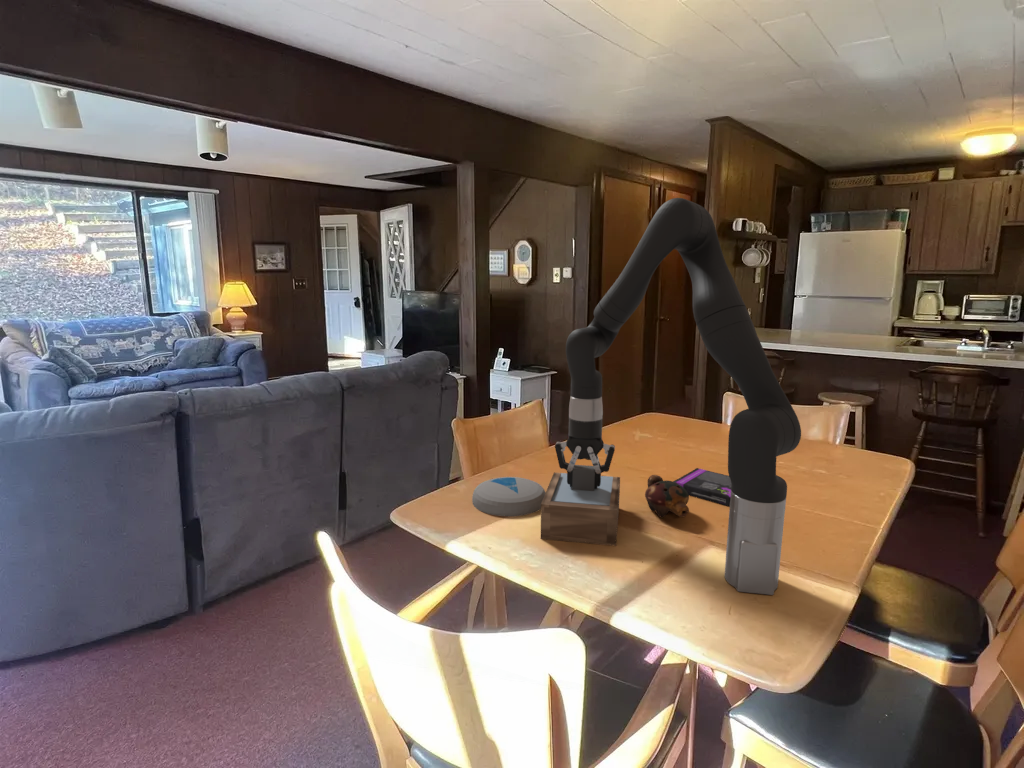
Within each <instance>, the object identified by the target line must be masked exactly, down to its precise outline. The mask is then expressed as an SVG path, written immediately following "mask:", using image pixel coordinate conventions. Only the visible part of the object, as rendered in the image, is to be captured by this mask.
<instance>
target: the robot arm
mask: <svg viewBox="0 0 1024 768" xmlns="http://www.w3.org/2000/svg"><path fill="white" fill-rule="evenodd" d="M641 236H642V237H641V238H640V240H639V242H638V244H637V246H636V247H635V249H634V250H633V253H632V254H631V256H630V257H629V260H628V261H627V263H626V265H625V266H624V268H623V269H622V271H621V273H620V274H619V275H618V278H616V279H615V282H613V284H612V285H611V286H610V288H609V289H608V290H607V292H605V293H604V295H603V297H602V298H601V299H600V300H599V302H598V304H597V305H596V306H595V308H594V309H593V316H594V317H593V319H592V321H591V322H590V323H589V324H588V326H587V327H582V328H576V329H574V330H572V332H571V333H569V335H568V336H567V339H566V343H565V355H566V362H567V367H568V371H569V375H570V399H569V403H568V404H569V406H568V437H567V439H566V441H559V440H558V441H556V443H555V445H554V449H555V452H556V453H555V454H556V458H557V461H558V467H559V468H560V469H563V470H565V471H566V473H567V483H568V484H570V487H572V479H573V467H574V465H576V462H577V460H587V461H591V464H592V466H594V469H595V482H594V489H597V487H599V486H600V484H601V476H602V473H607V472H609V471H610V467H611V464H612V461H613V458H614V453H615V449H616V446H615V445H614V444H607V443H605V442H604V441H603V416H604V410H603V409H604V408H603V407H604V406H603V375H602V374H601V372H600V371H599V370H597V368H596V362H595V359H597V358H598V357H601V356H602V355H604V354H605V353H606V352H607V351H608V350H609V349H610V347H611V346H612V345H613V342H615V341H614V340H615V339H616V338H617V336H618V335H619V332H620V330H621V328H622V327H623V326H624V324H626V322H627V321H628V320H629V319H630V318H631V317H632V315H633V314H634V313H635V311H636V310H637V308H638V307H639V306H640V304H641V303H642V301H643V299H644V298H645V295H646V293H647V291H648V287H649V286H650V285H649V284H650V282H651V279H652V277H653V275H654V273H655V271H656V270H657V268H658V266H659V265H660V264H661V263H662V262H663V260H665V259H666V257H667V256H668V255H669V254H670V253H671V252H672V251H674V250H676V251H677V252H678V253H679V255H680V256H681V259H682V260H683V263H684V264H685V267H686V269H687V272H688V273H689V277H690V280H691V286H692V313H693V318H694V321H695V325H696V326H697V330H698V332H699V335H700V338H701V341H702V342H703V344H704V346H705V349H706V350H707V352H708V354H710V356H711V357H712V358H713V359H714V361H715V362H716V363H718V365H719V367H721V368H722V369H723V370H724V371H725V372H726V373H727V374H728V375H729V376H730V377H731V379H733V381H735V383H736V385H737V386H738V388H739V390H740V392H741V394H742V396H743V398H744V400H745V403H746V405H747V409H743V410H741V411H739V412H738V413H736V415H734V417H733V419H732V420H731V423H730V426H729V431H728V443H727V444H728V447H727V449H728V450H727V472H728V476H729V477H730V480H731V497H730V507H729V508H728V509H729V511H728V524H727V525H728V526H727V536H726V537H727V538H726V550H725V552H726V553H725V565H724V578H725V580H726V582H727V583H728V584H729V585H731V586H733V588H735V589H736V591H737V592H741V593H748V594H749V593H750V594H761V595H770V596H773V595H775V591H776V590H777V588H778V585H779V576H780V566H781V565H780V564H781V556H782V545H783V536H784V534H783V533H784V524H785V514H786V503H787V495H788V484H787V482H786V480H785V479H784V478H783V477H781V476H779V475H777V457H778V456H779V457H780V456H783V455H786V454H789V453H791V452H793V451H794V450H795V449H796V448H797V447H798V446H799V444H800V441H801V438H802V437H801V436H802V428H801V423H800V421H799V418H798V416H797V414H796V412H795V409H794V408H793V406H792V403H791V402H790V401H789V399H788V397H787V395H786V393H785V392H784V389H783V388H782V386H781V384H780V382H779V380H778V378H777V376H776V375H775V373H774V370H773V368H772V366H771V364H770V362H769V359H768V356H767V354H766V352H765V350H764V348H763V345H762V343H761V340H760V339H759V336H758V334H757V331H756V328H755V326H754V322H753V320H752V318H751V316H750V313H749V311H748V308H747V306H746V303H745V302H744V300H743V298H742V295H741V293H740V290H739V288H738V286H737V283H736V281H735V280H734V277H733V274H732V273H731V271H730V269H729V267H728V265H727V262H726V259H725V257H724V254H723V253H724V252H723V250H722V246H721V243H720V240H719V237H718V232H717V229H716V225H715V222H714V220H713V217H712V215H711V214H710V212H709V211H708V210H707V209H706V208H705V207H704V206H702V205H700V204H698V203H695V202H693V201H691V200H688V199H686V198H683V197H674V198H671V199H668V200H667V201H665V202H663V204H661V205H660V206H659V208H658V209H657V210H656V211H655V214H654V215H653V217H652V218H651V220H650V221H649V223H648V225H647V227H646V230H645V231H644V233H643V235H641ZM566 447H567V448H568V450H569V451H570V453H571V454H572V455H571V458H570V461H569V462H566V458H565V454H564V453H565V452H564V451H566ZM601 450H604V454H605V455H606V457H605V462H604V464H601V462H600V460H599V459H600V458H599V456H598V455H599V453H600V452H601Z"/></svg>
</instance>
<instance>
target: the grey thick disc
mask: <svg viewBox="0 0 1024 768" xmlns="http://www.w3.org/2000/svg"><path fill="white" fill-rule="evenodd" d="M545 493H546V490H545V488H544V487H543V486H542V485H541V484H540V483H538V482H537V481H534V480H531V479H529V478H523V477H518V476H503V477H500V476H499V477H495V478H490V479H488V480H485V481H483V482H481V483H479V484H477V486H476V487H475V489H474V490H473V493H472V496H471V497H472V500H471V501H472V505H473V507H474V508H475V509H476V510H478V511H480V512H482V513H484V514H488V515H492V516H498V517H499V516H500V517H519V516H526V515H531V514H533V513H536V512H539V511H541V503H542V500H543V498H544V496H545Z"/></svg>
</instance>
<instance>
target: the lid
mask: <svg viewBox="0 0 1024 768" xmlns="http://www.w3.org/2000/svg"><path fill="white" fill-rule="evenodd" d="M560 473H561V476H560V479H559V482H558V484H557V487H556V490H555V492H554V495H553V498H552V500H551V501H554V502H566V503H578V504H591V505H603V506H610V498H611V490H612V481H613V477H614V476H611V475H610V476H609V475H601V484H600V486H599V487H597V489H594V482H595V469H594V466H593V465H584V464H583V465H582V464H575V465H574V467H573V479H572V487H570V484H568V483H567V472H560Z"/></svg>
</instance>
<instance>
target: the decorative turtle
mask: <svg viewBox="0 0 1024 768" xmlns="http://www.w3.org/2000/svg"><path fill="white" fill-rule="evenodd" d="M673 481H674V480H664V479H663V477H662V476H660V475H658V474H651V475H650V476H649V477H648V478H647V488H646V490H645V492H644V497H645V500H646V502H647V506H648V508H649V510H650V511H652V512H656V514H657V516H658V517H659V518H664V517H666V516H667V514H668V513H669V512H671V513H673V514H675V515H676V516H678V517H681V518H683V517H686V516H688V514H689V512H690V508H689V507H688V505H687V504H688V502H689V501H690V496H689V495H688V493H687V491H686V490H685V489H684V488H683V487H682V486H681V485H679V484H678V483H675V482H673Z"/></svg>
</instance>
